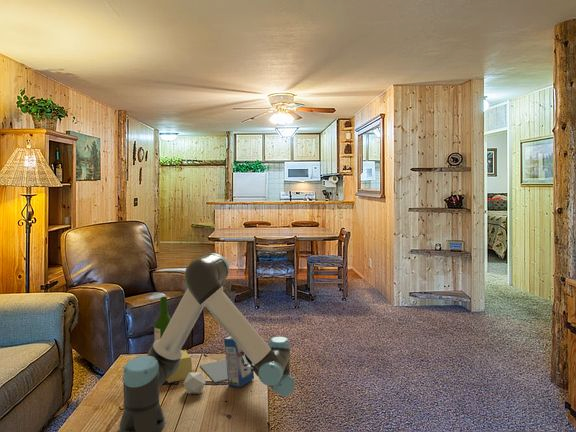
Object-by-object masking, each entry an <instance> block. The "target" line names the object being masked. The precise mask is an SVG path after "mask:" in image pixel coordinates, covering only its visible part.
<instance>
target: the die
mask: <svg viewBox="0 0 576 432" xmlns="http://www.w3.org/2000/svg"><path fill="white" fill-rule="evenodd" d="M205 385H206V380H205V377H204V375H203V373H202V372H200V371H199V372H197V371H195V372H189V374H188V376H187V377H186V379H185V380H183V386H184V389H185V390H186V393H187V394H188V395H195V394H196V395H197V394H199V395H201V393H202V392H203V389H204V387H205Z"/></svg>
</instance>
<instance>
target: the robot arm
mask: <svg viewBox="0 0 576 432" xmlns="http://www.w3.org/2000/svg"><path fill="white" fill-rule="evenodd" d="M229 273H230V265H229V263H228V261H227V259H226V258H225V257H224V256H222V255H221V254H219V253H213V252H212V253H207V254H204V255H202V256H201V257H199V258H196V259H194V260H192V261H191V262H189V264H188V265H187V266H186V269H185V271H184V283H185V285H186V287H187V288H186V290H185V292H184V294H183V295H182V298H181V300H180V301H179V303H178V305H177V307H176V309H175V311H174V313H173V315H172V316H171V317H170V318H171V320H170V322H169V324H168V326H167V328H166V330H165V331H164V333H163V335H162V337H161V339H159V340H156V341H155V340H154V342H153V344H152V346H151V347H150V349H149V351H148V353H147V355H140V356H137V358H132V359H131V360H129V361H127V362H126V364H125V365H124V367H123V371H122V383H123V384H122V386H123V411H122V415H121V417H120V422H119V426H118V427H119V430H118V431H119V432H161V431H162V430H164V427H165V425H166V418H165V417H166V416H165V415H164V411H163V410H162V406H161V404H160V387H161V386H162V385H164V383H165V382H166V381H167V379H168V378H169V377H170V376H171V375H173V374H174V373H175V371H176V370H177V368H178V366H179V363H180V358H181V356H182V351H181V350H182V347H183V346H184V344H185V342H186V341H187V339H188V337H189V335H190V333H191V332H192V330H193V328H194V326H195V324H196V322H197V320H198V318H199V317H200V315H201V313H202V311H203V309H204V308H206V309H207V310H208V311H209V312H210V313H211V315H212V316H213V317H214V318H215V320H216V321H217V322H218V323H219V324H220V326H221V327H222V328H223V330H225V332H226V333H227V334H228V335H229V336H231V338H232V339H233V340H234V341H235V342H236V344H237V345H238V346H239V347H240V348H241V350H242V351H243V352H242V363H243V365H244V371H246V370H247V369H251V370H252V371H254V373H255V374H254V375H256V377H258V379H259V381H260V383H262V384H263V385H265V386H268V387H269V388H271V390H272V391H273V392H274V393H276V394H277V395H279V396H281V397H287V396H289V395H291V394H292V393H293V391H294V390H295V387H296V381H295V379H294V377H293V376H292V375H291V366H290V365H291V364H290V363H291V360H290V359H291V357H290V356H291V354H290V353H291V346H290V344H291V342H290V339H288V338H287V337H285V336H274V337H272V338H270V339H269V341H268V343H267V342H266V341H265V340H264V339H263V338H262V337H261V335H260V334H259V333H258V332H257V330H256V329H255V328H254V327H253V326H252V324H251V323H250V321H248V319H247V318H246V317H245V316H244V315H243V314H242V312H241V310H239V309H238V308H237V306H236V305H235V304H234V303H233V301H232V300H231V299H230V298H229V297H228V296H227V294H226V293H225V292H224V286H223V282H224V281H226V279H227V278H228V276H229ZM249 364H250V365H249Z"/></svg>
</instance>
